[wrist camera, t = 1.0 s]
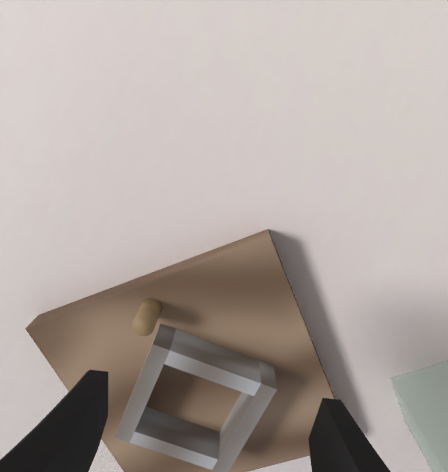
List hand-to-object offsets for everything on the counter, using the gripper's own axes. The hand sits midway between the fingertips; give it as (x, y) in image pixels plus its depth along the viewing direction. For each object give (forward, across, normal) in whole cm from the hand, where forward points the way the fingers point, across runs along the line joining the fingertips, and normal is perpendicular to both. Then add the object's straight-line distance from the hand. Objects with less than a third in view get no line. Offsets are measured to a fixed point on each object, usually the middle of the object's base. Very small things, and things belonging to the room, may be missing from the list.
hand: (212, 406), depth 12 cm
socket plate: (+10, 0, +8) cm, 13 cm away
